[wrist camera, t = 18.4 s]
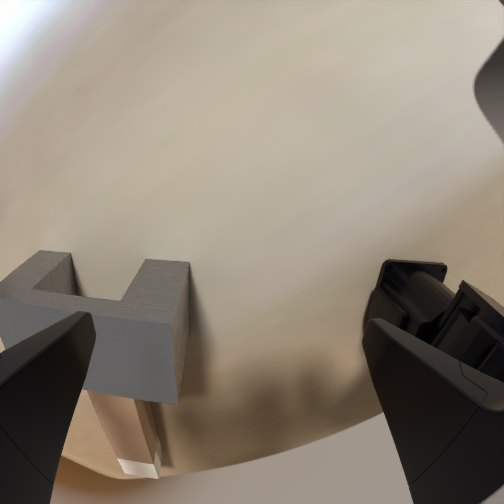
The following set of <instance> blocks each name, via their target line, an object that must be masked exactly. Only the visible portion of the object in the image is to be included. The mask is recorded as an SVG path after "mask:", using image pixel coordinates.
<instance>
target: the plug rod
mask: <svg viewBox="0 0 504 504" xmlns="http://www.w3.org/2000/svg"><path fill="white" fill-rule="evenodd" d="M87 392H88V394H89V397H90V399H91V402H92V404H93V407H94V409H95V412H96V414H97V416H98V419H99V421H100V423H101V426H102V428H103V430H104V432H105V434H106V437H107V439H108V441H109V443H110V445H111V447H112V449H113V451H114V453H115V455H116V457H117V459H118V461H119V463H120V464H121V466H122V468H123V470H124V472H125V473H127V474H132V475H138V476H143V477H149V478H156V479H159V474H160V466H161V459H162V449H161V445H160V441H159V437H158V433H157V429H156V424H155V420H154V416H153V411H152V406H151V402H150V401H144V400H137V399H131V398H125V397H119V396H114V395H108V394H103V393H98V392H93V391H89V390H87Z"/></svg>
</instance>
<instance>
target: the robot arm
mask: <svg viewBox="0 0 504 504" xmlns="http://www.w3.org/2000/svg"><path fill="white" fill-rule="evenodd" d="M389 265H391V267H390V268H388V266H389ZM442 268H443V269H442ZM441 269H442V270H441ZM446 272H447V266H446V265H445V264H444V263H436V262H422V261H408V260H393V259H388V260H386V261H385V262H384V264H383V266H382V270H381V273H380V277H379V281H378V284H377V287H376V288H375V291H374V294H373V298H372V301H371V304H370V307H369V310H368V313H367V319H366V322H365V325H364V331H365V333H364V336H363V340H362V345H363V349H364V353H365V356H366V360H367V364H368V367H369V371H370V375H371V379H372V382H373V385H374V388H375V390H376V393H377V396H378V398H379V401H380V404H381V406H382V409H383V412H384V414H385V417H386V420H387V422H388V426H389V428H390V431H391V434H392V437H393V440H394V443H395V445H396V449H397V452H398V455H399V458H400V461H401V464H402V467H403V470H404V473H405V476H406V480H407V482H408V486H409V490H410V493H411V497H412V500H413V504H504V307H503V306H501V305H500V304H499V303H498V302H496V301H495V300H494V299H492V298H491V297H490V296H488V295H486V294H485V293H483V292H482V291H480V290H478V289H477V288H475V287H474V286H472V285H470V284H469V283H467V282H466V281H464V280H462V282H461V284H460V285H459V290H458V291H457V293H456V294H455V293H454V292H452V291H451V290H450V289H449V288H448V287H447V286H445V285H444V284H443V281H444V278H445V275H446ZM95 341H96V331H95V327H94V323H93V319H92V315H91V313H89V312H85V311H77V312H76V313H74V314H72V315H70V316H68V317H66V318H64V319H62V320H60V321H58V322H56V323H55V324H53V325H51V326H49V327H47V328H45V329H43V330H41V331H39V332H38V333H36V334H34V335H32V336H30V337H28V338H26V339H25V340H23V341H21V342H19V343H17V344H15V345H14V346H12V347H10V348H8V349H6V350H4V351H3V352H2V353H0V504H50V500H51V495H52V491H53V485H54V481H55V477H56V472H57V469H58V465H59V461H60V457H61V454H62V450H63V446H64V443H65V439H66V436H67V433H68V429H69V426H70V423H71V420H72V417H73V414H74V411H75V408H76V405H77V402H78V399H79V396H80V393H81V390H82V387H83V385H84V382H85V379H86V375H87V372H88V368H89V364H90V360H91V356H92V352H93V349H94V345H95Z"/></svg>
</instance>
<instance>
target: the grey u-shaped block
mask: <svg viewBox="0 0 504 504" xmlns="http://www.w3.org/2000/svg"><path fill="white" fill-rule="evenodd" d="M77 311H85V312H89V313H91V315H92V319H93V323H94V327H95V331H96V341H95V345H94V349H93V352H92V356H91V360H90V364H89V368H88V372H87V375H86V379H85V382H84V385H83V387H82V389H84V390H89V391H93V392H98V393H103V394H108V395H114V396H119V397H125V398H131V399H137V400H144V401H152V402H159V403H168V404H178V403H179V396H180V389H181V382H182V375H183V369H184V363H185V356H186V350H187V344H188V338H189V262H179V261H165V260H152V259H145V261H144V263H143V264H142V266H141V268H140V269H139V271H138V273H137V274H136V276H135V277H134V279H133V281H132V283H131V284H130V286H129V288H128V289H127V291H126V293H125V294H124V296H123V298H122V300H121V301H116V300H107V299H99V298H91V297H83V296H77V293H76V287H75V281H74V275H73V269H72V262H71V254H70V253H64V252H52V251H41V250H40V251H38V252H37V253H36V254H34V255H33V256H32V257H30V258H29V259H28V260H27V261H25V262H24V263H23V264H22V265H20V266H19V267H18V268H17V269H15V270H14V271H13V272H12V273H10V274H9V275H8V276H7V277H6V278H5V279H3V280H2V281H1V282H0V337H1V339H2V342H3V344H4V347H5V349H8V348H10V347H12V346H14V345H15V344H17V343H19V342H21V341H23V340H25V339H26V338H28V337H30V336H32V335H34V334H36V333H38V332H39V331H41V330H43V329H45V328H47V327H49V326H51V325H53V324H55V323H56V322H58V321H60V320H62V319H64V318H66V317H68V316H70V315H72V314H74V313H76V312H77Z"/></svg>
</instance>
